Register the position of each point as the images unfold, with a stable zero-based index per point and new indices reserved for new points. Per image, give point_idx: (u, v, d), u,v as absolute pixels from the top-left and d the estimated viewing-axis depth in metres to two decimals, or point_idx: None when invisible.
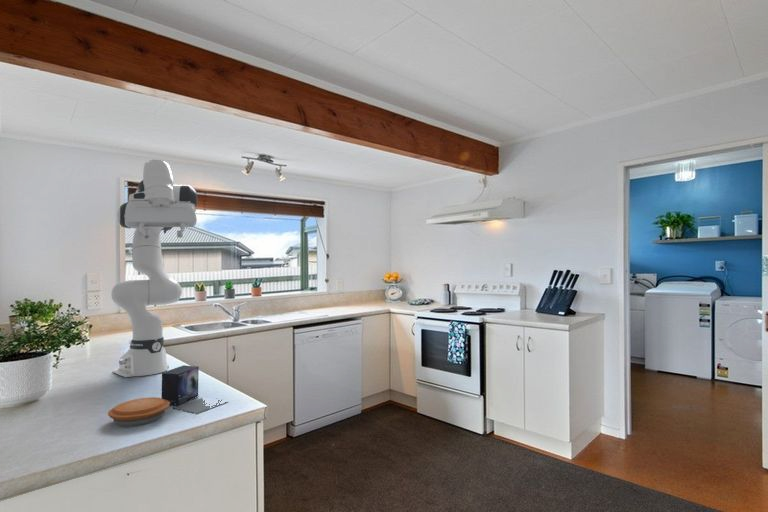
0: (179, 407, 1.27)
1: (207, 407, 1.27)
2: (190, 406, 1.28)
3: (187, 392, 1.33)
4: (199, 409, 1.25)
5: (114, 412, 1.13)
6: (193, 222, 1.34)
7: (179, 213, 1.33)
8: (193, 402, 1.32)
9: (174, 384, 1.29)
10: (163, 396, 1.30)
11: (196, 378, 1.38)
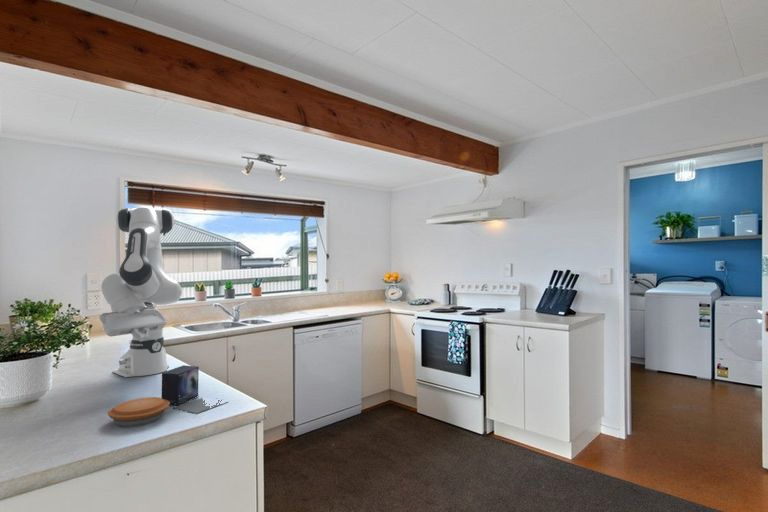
0: (179, 407, 1.27)
1: (207, 407, 1.27)
2: (190, 406, 1.28)
3: (187, 392, 1.33)
4: (199, 409, 1.25)
5: (114, 412, 1.13)
6: (111, 335, 1.37)
7: None
8: (193, 402, 1.32)
9: (174, 384, 1.29)
10: (163, 396, 1.30)
11: (196, 378, 1.38)
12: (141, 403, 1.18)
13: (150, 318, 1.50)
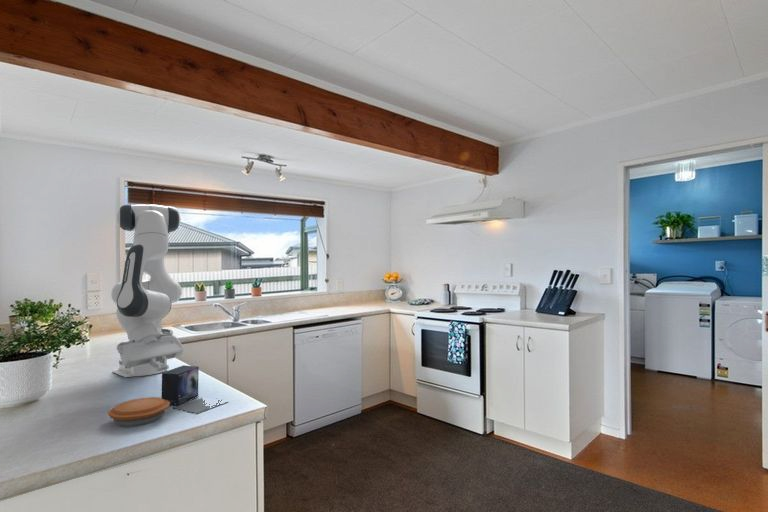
0: (179, 407, 1.27)
1: (207, 407, 1.27)
2: (190, 406, 1.28)
3: (187, 392, 1.33)
4: (199, 409, 1.25)
5: (114, 412, 1.13)
6: (129, 366, 1.32)
7: None
8: (193, 402, 1.32)
9: (174, 384, 1.29)
10: (163, 396, 1.30)
11: (196, 378, 1.38)
12: (141, 403, 1.18)
13: (168, 346, 1.45)
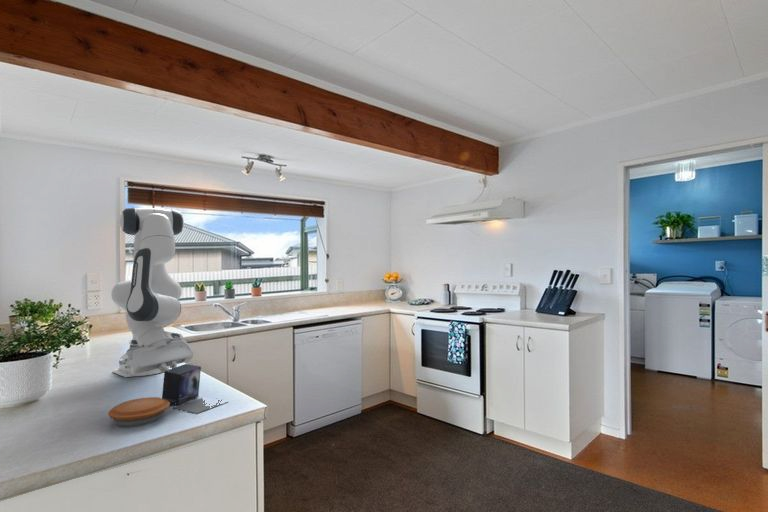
0: (179, 407, 1.27)
1: (207, 407, 1.27)
2: (190, 406, 1.28)
3: (188, 392, 1.33)
4: (199, 409, 1.25)
5: (114, 412, 1.13)
6: (138, 372, 1.30)
7: None
8: (193, 402, 1.32)
9: (176, 384, 1.29)
10: (164, 394, 1.30)
11: (198, 378, 1.37)
12: (141, 403, 1.18)
13: (177, 350, 1.42)
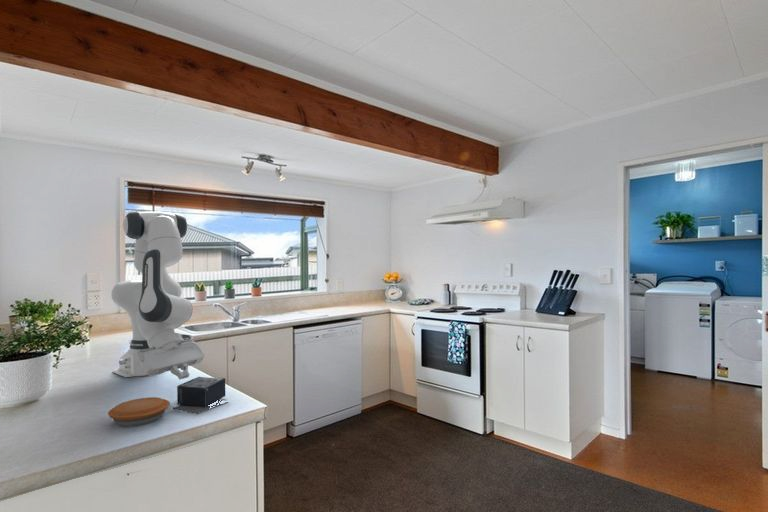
0: (179, 407, 1.27)
1: (207, 407, 1.27)
2: (190, 406, 1.28)
3: None
4: (199, 409, 1.25)
5: (114, 412, 1.13)
6: (150, 374, 1.27)
7: None
8: None
9: (195, 403, 1.27)
10: (184, 389, 1.28)
11: None
12: (141, 403, 1.18)
13: (188, 352, 1.40)
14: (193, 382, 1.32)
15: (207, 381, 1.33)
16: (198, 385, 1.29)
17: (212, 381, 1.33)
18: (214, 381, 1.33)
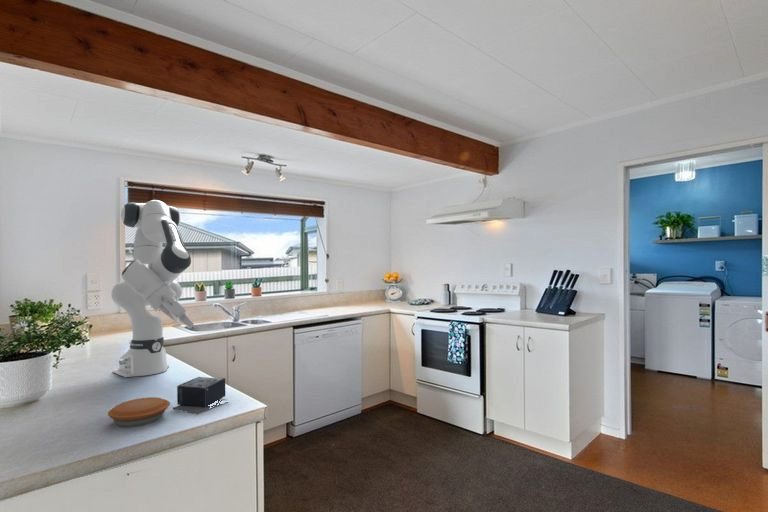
0: (179, 407, 1.27)
1: (207, 407, 1.27)
2: (190, 406, 1.28)
3: None
4: (199, 409, 1.25)
5: (114, 412, 1.13)
6: (179, 317, 1.36)
7: (171, 313, 1.38)
8: None
9: (195, 403, 1.27)
10: (184, 389, 1.28)
11: None
12: (141, 403, 1.18)
13: None
14: (193, 382, 1.32)
15: (207, 381, 1.33)
16: (198, 385, 1.29)
17: (212, 381, 1.33)
18: (214, 381, 1.33)
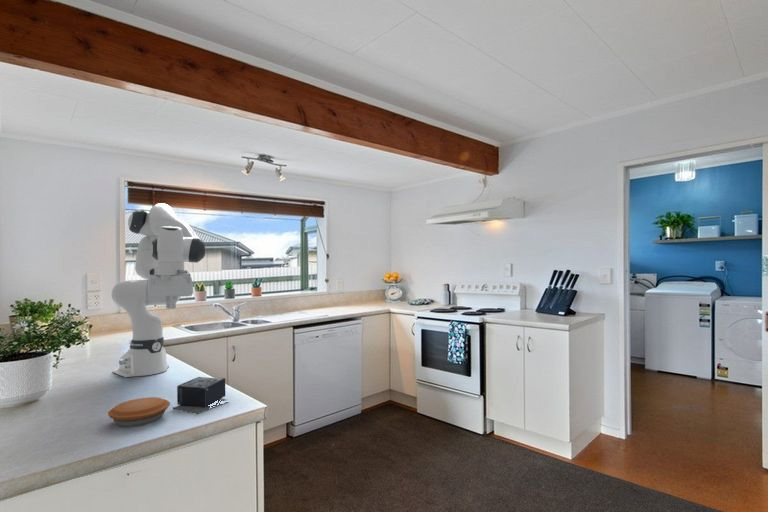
0: (179, 407, 1.27)
1: (207, 407, 1.27)
2: (190, 406, 1.28)
3: None
4: (199, 409, 1.25)
5: (114, 412, 1.13)
6: None
7: (175, 287, 1.44)
8: None
9: (195, 403, 1.27)
10: (184, 389, 1.28)
11: None
12: (141, 403, 1.18)
13: None
14: (193, 382, 1.32)
15: (207, 381, 1.33)
16: (198, 385, 1.29)
17: (212, 381, 1.33)
18: (214, 381, 1.33)
